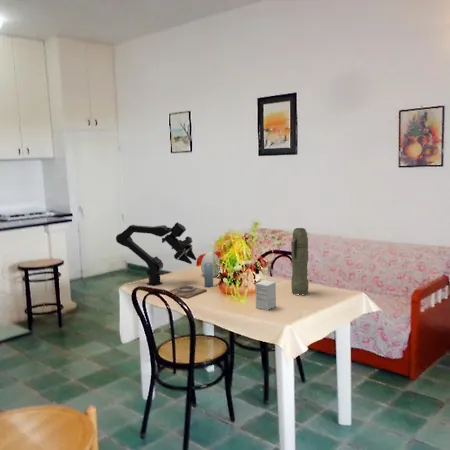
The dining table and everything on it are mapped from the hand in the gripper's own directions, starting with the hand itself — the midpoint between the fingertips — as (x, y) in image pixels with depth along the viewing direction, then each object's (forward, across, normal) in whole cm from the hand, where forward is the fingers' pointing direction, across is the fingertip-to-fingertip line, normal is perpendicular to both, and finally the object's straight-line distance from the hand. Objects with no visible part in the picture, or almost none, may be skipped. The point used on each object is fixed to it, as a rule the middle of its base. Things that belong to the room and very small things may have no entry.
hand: (193, 261), depth 280 cm
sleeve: (+16, 0, +4) cm, 16 cm away
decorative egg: (+13, +23, +8) cm, 27 cm away
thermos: (+54, -7, -32) cm, 63 cm away
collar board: (+9, -15, +10) cm, 20 cm away
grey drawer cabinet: (+43, -33, -22) cm, 59 cm away
